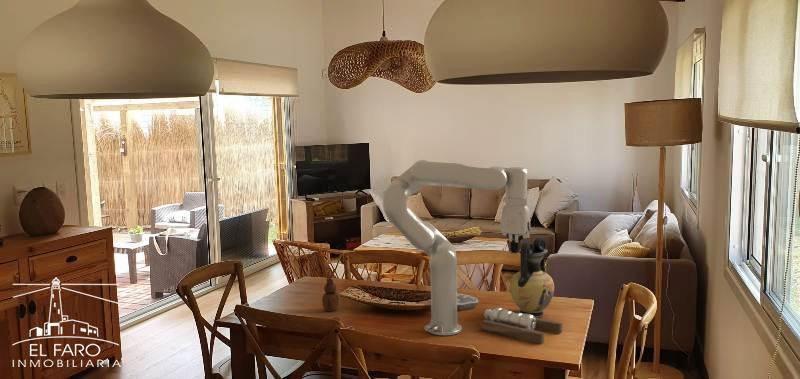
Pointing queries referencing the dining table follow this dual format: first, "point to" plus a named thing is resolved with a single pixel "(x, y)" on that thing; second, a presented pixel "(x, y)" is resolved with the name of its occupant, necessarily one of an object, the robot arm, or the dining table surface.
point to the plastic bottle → (511, 318)
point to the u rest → (523, 330)
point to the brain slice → (466, 302)
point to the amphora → (532, 280)
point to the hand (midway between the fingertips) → (515, 252)
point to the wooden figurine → (330, 296)
